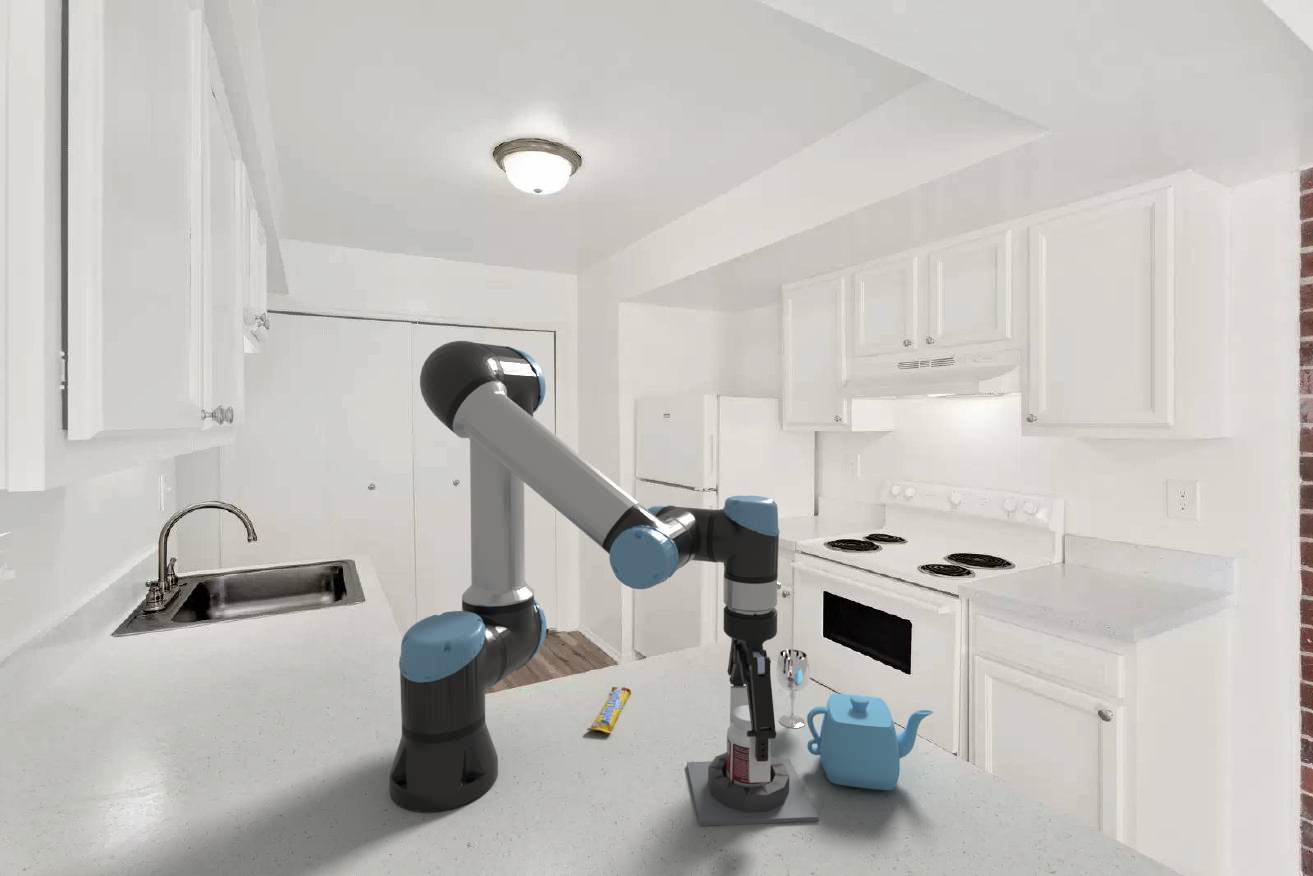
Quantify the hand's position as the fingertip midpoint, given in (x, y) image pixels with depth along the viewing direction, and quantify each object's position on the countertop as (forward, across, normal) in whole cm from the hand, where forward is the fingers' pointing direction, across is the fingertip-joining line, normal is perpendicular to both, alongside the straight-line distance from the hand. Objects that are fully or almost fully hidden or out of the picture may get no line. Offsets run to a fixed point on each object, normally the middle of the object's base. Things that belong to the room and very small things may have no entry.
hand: (748, 753), depth 91 cm
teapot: (+6, +4, -19) cm, 20 cm away
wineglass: (+6, +20, -12) cm, 24 cm away
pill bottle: (+5, 0, 0) cm, 5 cm away
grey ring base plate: (+6, 0, 0) cm, 6 cm away
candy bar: (+6, +25, +20) cm, 32 cm away
